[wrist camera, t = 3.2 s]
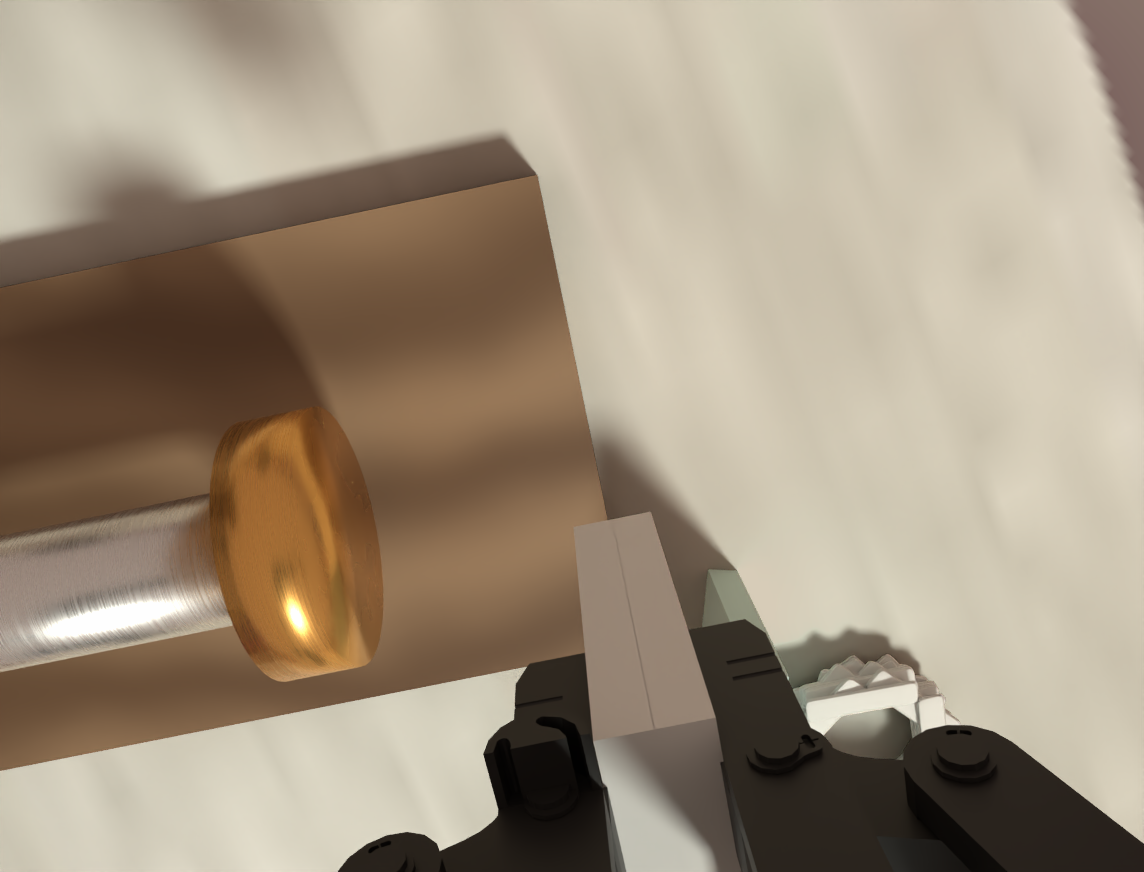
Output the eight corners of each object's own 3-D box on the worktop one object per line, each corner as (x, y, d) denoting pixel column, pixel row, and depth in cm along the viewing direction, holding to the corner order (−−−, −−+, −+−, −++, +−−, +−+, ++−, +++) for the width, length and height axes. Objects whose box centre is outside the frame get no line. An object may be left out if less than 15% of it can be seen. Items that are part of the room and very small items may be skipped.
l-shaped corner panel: (969, 844, 36) (1075, 1009, 29) (677, 838, 36) (711, 1005, 29) (1027, 574, 33) (1162, 687, 26) (705, 563, 32) (752, 675, 25)
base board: (628, 624, 32) (633, 645, 31) (-320, 812, 33) (-359, 841, 32) (537, 174, 28) (536, 174, 26) (-559, 405, 29) (-618, 417, 27)
